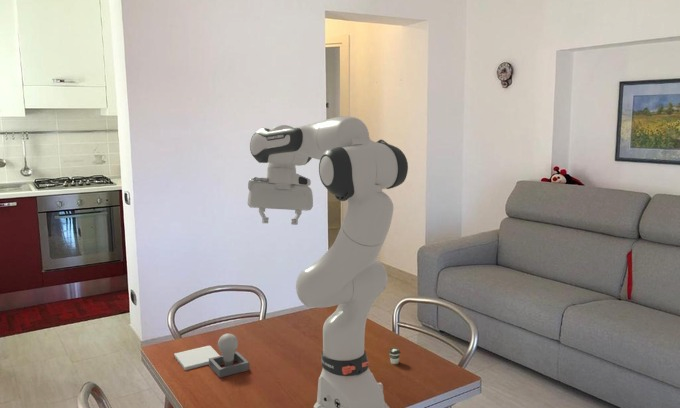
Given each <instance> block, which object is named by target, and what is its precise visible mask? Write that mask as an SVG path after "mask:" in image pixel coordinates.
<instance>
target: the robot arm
mask: <svg viewBox="0 0 680 408" xmlns="http://www.w3.org/2000/svg"><path fill="white" fill-rule="evenodd" d="M250 138H251V139H250V141H249V142H250V143H249V149H250V154H251V156H252V157H253V158H254V160H256V161H257V162H258V163H259V164H261V163H262V164H268V166H267V170H266V171H267V174H266V175H267V176H266V177H257V176H254V177H252V178H250V179H249V180H248V185H247V186H248V187H247V188H248V191H249V192H248V196H247V205H248V207H249V208H252V209H253V208H254V209H258V212H259V215H260V216H261V223H262V224H269V218H270V217H267V216H266V215H265V212H266V209H269V210H270V209H271V210H273V209H274V210H288V211H289V210H290V211H294V214H295V217H294V218H291V223H290V224H291V225H293V226H295V225H298V223H299V218H300V217H301V215H302V211H304V212H305V211H311V210H312V209H313V206H314V198H313V197H314V195H313V190H312V188H311V187H310V186H311V182H312V181H311V179H310V178H308V177H305V176H303V175H302V174H301V175H300V174H298V173H297V167H298V166H299V167H300V166H306V165H307V164H308V163H309V162H310V161H311V160H312V159H315V160H319V163H318V164H319V165H318V173H319V175H318V176H319V178H320V179H319V180H320V181H321V184H322V185H323V187H325V188H326V189H327V191H328V192H329V193H330V194H332V195H334V196H335V198H336V199H337V200H338V201H340V202H346V201H347V202H348V203H347V204H348V206H347V211H346V214H345V215H344V219H343V220H342V224H341V226H340V229H339V230H338V233H337V236H336V238H335V240H334V242H333V244H332V245H331V246H330V247H329V249H328V250H327V251H326V252H325V253H324V254H323V255H322V256H321V257H320V258H319V259H317V261H316V262H314V263H313V264H312V265H310V266H309V267H307V268H305V269H303V270H301V271H300V272H299V274H298V276H297V279H296V282H295V292H296V295H297V297H298V300H299V301H300V302H301V303H302V304H303V305H304V306H305V307H307V308H328V307H329V308H330V307H334V306H335V307H336V306H337V308H336V309H335V311H333V313H332V314H330V315H329V316H328V317H327V318H326V319H325V321H324V323H323V326H322V351H321V357H320V360H321V366H322V369H321V372H320V376H319V377H318V380H317V381H318V382H317V394H316V395H317V396H316V402H315V403H314V405H313V408H391V407H390V406H389V405H388V404H387V402H385V395H384V385H383V383H382V382H378V381H377V380H376V378H375V376H374V373H372V372H371V370H370V368H369V367H370V366H371V364H369V363H370V362H371V361H370V360H368V356H367V352H366V350H365V335H366V334H365V333H366V332H365V331H366V323H367V320H368V316H369V313H370V311H371V310H372V307H373V305H374V303H375V302H376V301H377V299H378V298H379V297H380V296H381V295H382V294H383V293H384V292H385V291H386V288H387V285H388V281H389V278H388V277H389V276H388V272H387V270H386V269H387V268H386V267H385V265H384V264H383V263H382V262H381V261H380V260H378V259H377V258H378V256H379V253H380V252H381V249H382V247H383V244H384V243H385V240H386V238H387V236H388V233H389V230H390V227H391V224H392V219H393V214H394V203H393V201H392V199H391V197H390V196H389V195H388V194H387V193H386V192H384V191H383V190H385V189H386V190H390V189H394V188H396V187H399V186H400V185H402V184H403V183H404V182H405V181H406V178H407V177H408V172H409V171H408V170H409V165H408V159H407V157H406V154H405V153H404V152H403V151H402V149H400V148H399V147H398V146H394V145H392V144H389V143H388V142H387V141H385V140H384V139H379V140H378V141H373V140H372V139H371V138H370V132H369V129H368V127H367V125H366V124H365V123H364V122H363V120H361V119H359V118H357V117H353V116H335V117H331V118H328V119H324V120H321V121H317V122H314V123H309V124H306V125H301V126H297V127H293V126H291V125H285V124H283V125H277V126H274V127H272V129H270V128H268V127H267V128H266V127H261V128H259V129H257V131H255V132H254V133H253V135H252V136H251V137H250Z"/></svg>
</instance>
